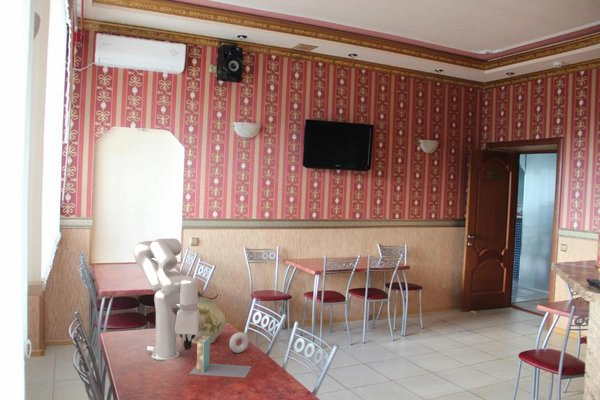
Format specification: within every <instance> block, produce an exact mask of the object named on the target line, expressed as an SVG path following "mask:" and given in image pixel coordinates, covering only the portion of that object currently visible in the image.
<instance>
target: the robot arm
mask: <svg viewBox="0 0 600 400" xmlns="http://www.w3.org/2000/svg"><path fill="white" fill-rule="evenodd" d="M181 252H182V244H181V242H180V241H179V240H178V239H177V238H173V237H172V238H158V239H154V240H145V241H141V242H138V243H137V244H135V246H134V249H133V256H134V260H135V262H136V265H137V266H138V267H139V269H140V270H141V271H142V272H143V274H144V275H145V278H146V280H147V282H148V284H149V287H150V288H151V290H152V291H153V292H155V294H154V296H153V297H154V298H153V301H154V307H155V338H154V339H155V344H154V345H153V346H152V345H147V347H146V351H147V352H152V353H151V358H152V359H153V360H156V361H166V360H167V361H169V360H173V359H177V358H179V357H180V352H179V351H177V336H178V337H180V338H181V339H182V341H183V348H184V351H190V350H191V348H192V347H193V346H192V339H193V338H194V337H198V336H200V314H199V310H197V306H198V291H199V281H198V279H197V278H194V277H192V276H190V275H187V274H185V275H183V274H182V273H181V272H180V271H177V270H174V271H173V269H175V267H177V265H178V257H177V256H179V255H180V254H181ZM154 259H155V260H154ZM173 309H178V310H177V313H175V312H174V311H173ZM187 335H189V337H188V336H187Z"/></svg>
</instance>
